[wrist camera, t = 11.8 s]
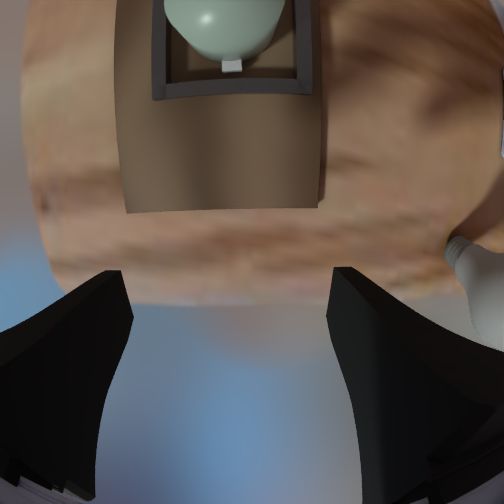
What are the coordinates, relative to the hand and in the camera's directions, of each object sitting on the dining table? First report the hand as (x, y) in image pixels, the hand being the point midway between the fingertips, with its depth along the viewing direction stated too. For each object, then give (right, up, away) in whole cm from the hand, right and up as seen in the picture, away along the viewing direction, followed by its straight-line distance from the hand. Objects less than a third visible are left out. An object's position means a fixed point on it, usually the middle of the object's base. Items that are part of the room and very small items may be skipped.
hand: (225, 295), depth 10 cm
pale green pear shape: (0, +14, +3) cm, 14 cm away
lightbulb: (+17, +2, +10) cm, 20 cm away
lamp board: (-1, +11, +5) cm, 12 cm away
